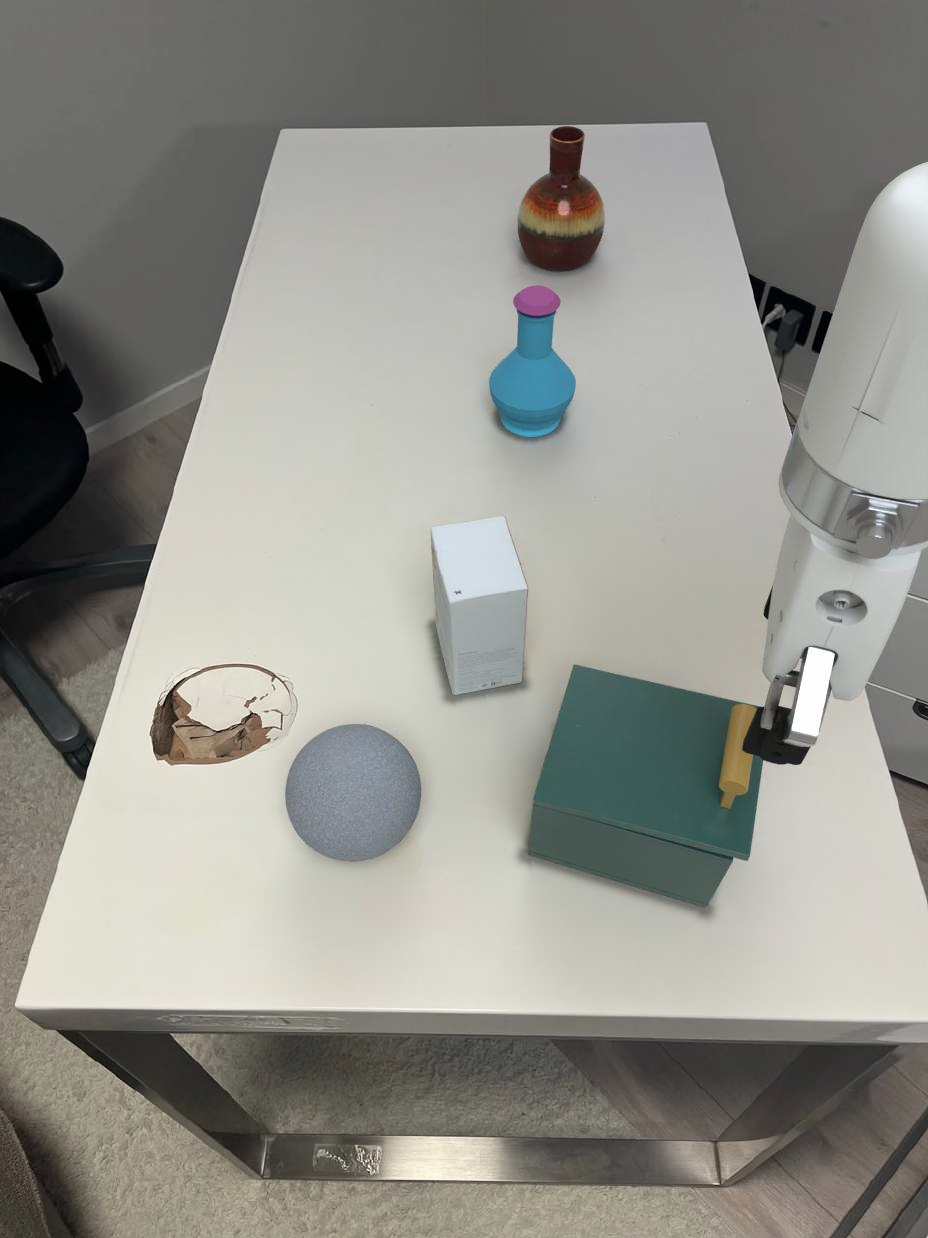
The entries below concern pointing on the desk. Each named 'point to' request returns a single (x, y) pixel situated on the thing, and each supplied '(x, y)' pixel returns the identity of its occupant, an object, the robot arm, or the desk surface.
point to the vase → (561, 208)
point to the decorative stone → (353, 792)
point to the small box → (479, 604)
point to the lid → (653, 761)
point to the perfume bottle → (533, 370)
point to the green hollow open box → (627, 856)
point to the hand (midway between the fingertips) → (780, 683)
